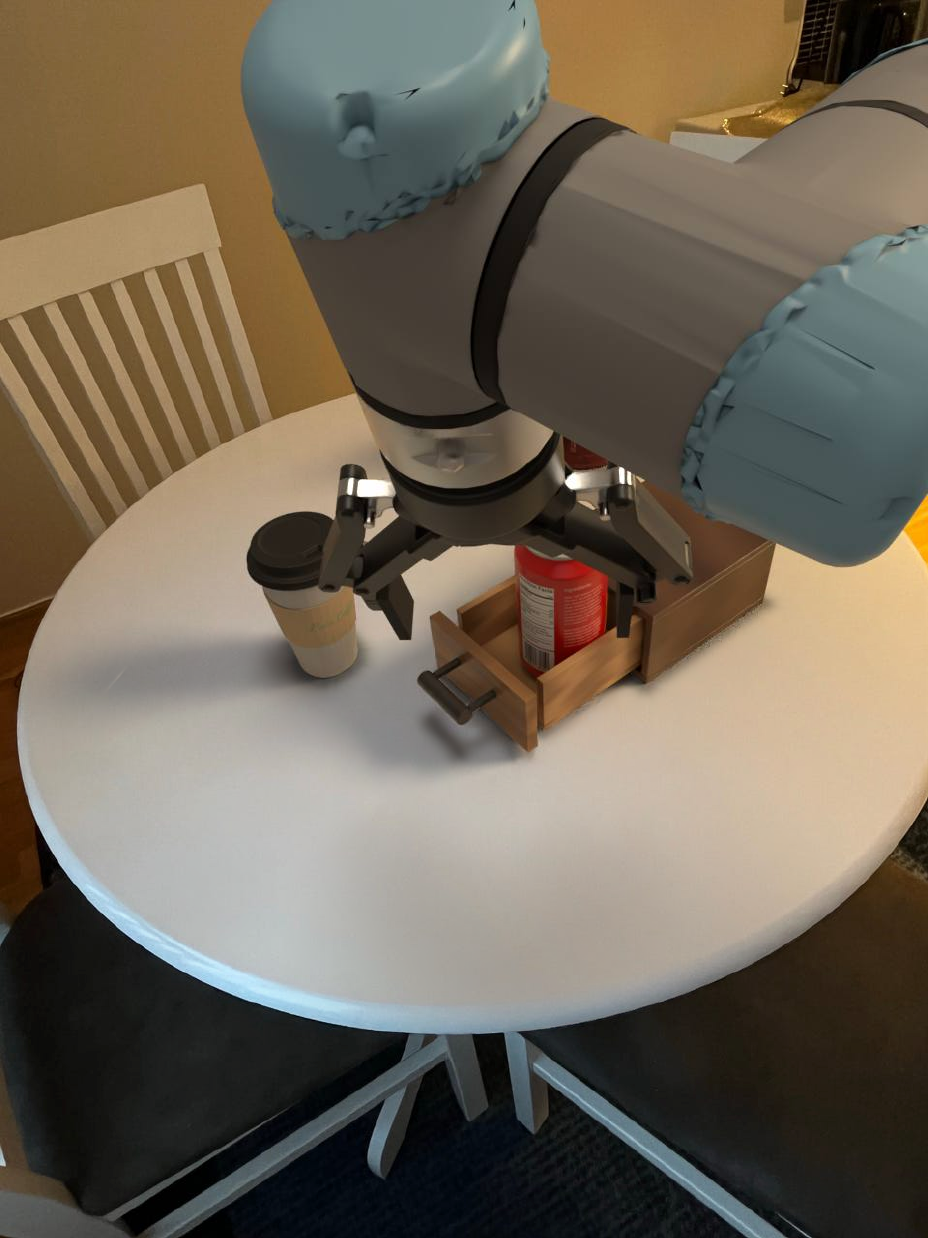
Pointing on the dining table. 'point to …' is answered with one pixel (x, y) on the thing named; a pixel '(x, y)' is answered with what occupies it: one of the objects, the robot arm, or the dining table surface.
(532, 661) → the soda can
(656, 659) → the cabinet
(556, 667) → the drawer
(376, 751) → the dining table surface
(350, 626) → the coffee cup
